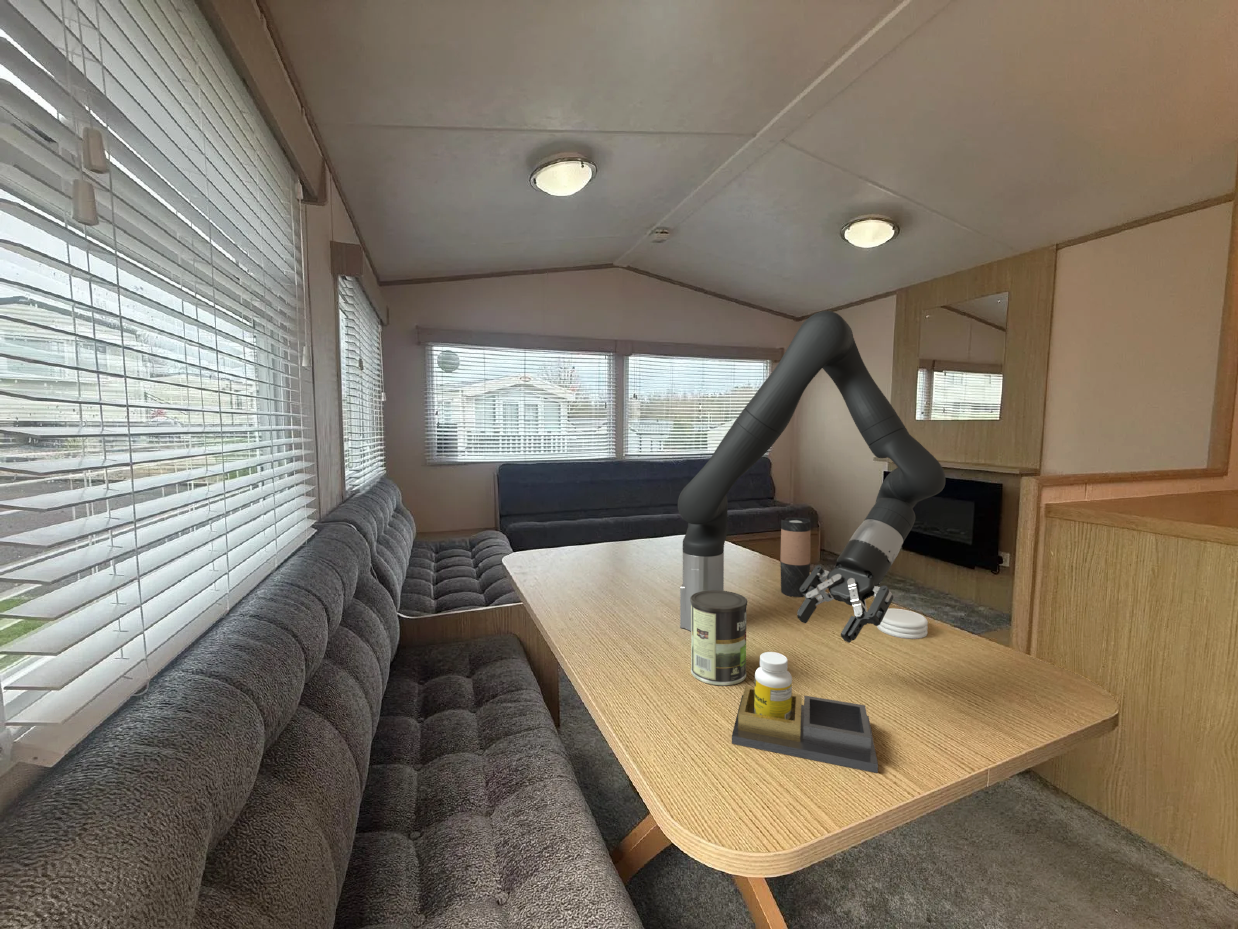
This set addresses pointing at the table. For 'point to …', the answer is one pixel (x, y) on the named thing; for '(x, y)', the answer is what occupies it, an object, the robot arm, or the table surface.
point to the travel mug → (794, 555)
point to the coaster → (904, 624)
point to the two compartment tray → (810, 731)
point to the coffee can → (718, 637)
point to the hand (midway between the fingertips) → (821, 629)
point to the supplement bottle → (773, 686)
